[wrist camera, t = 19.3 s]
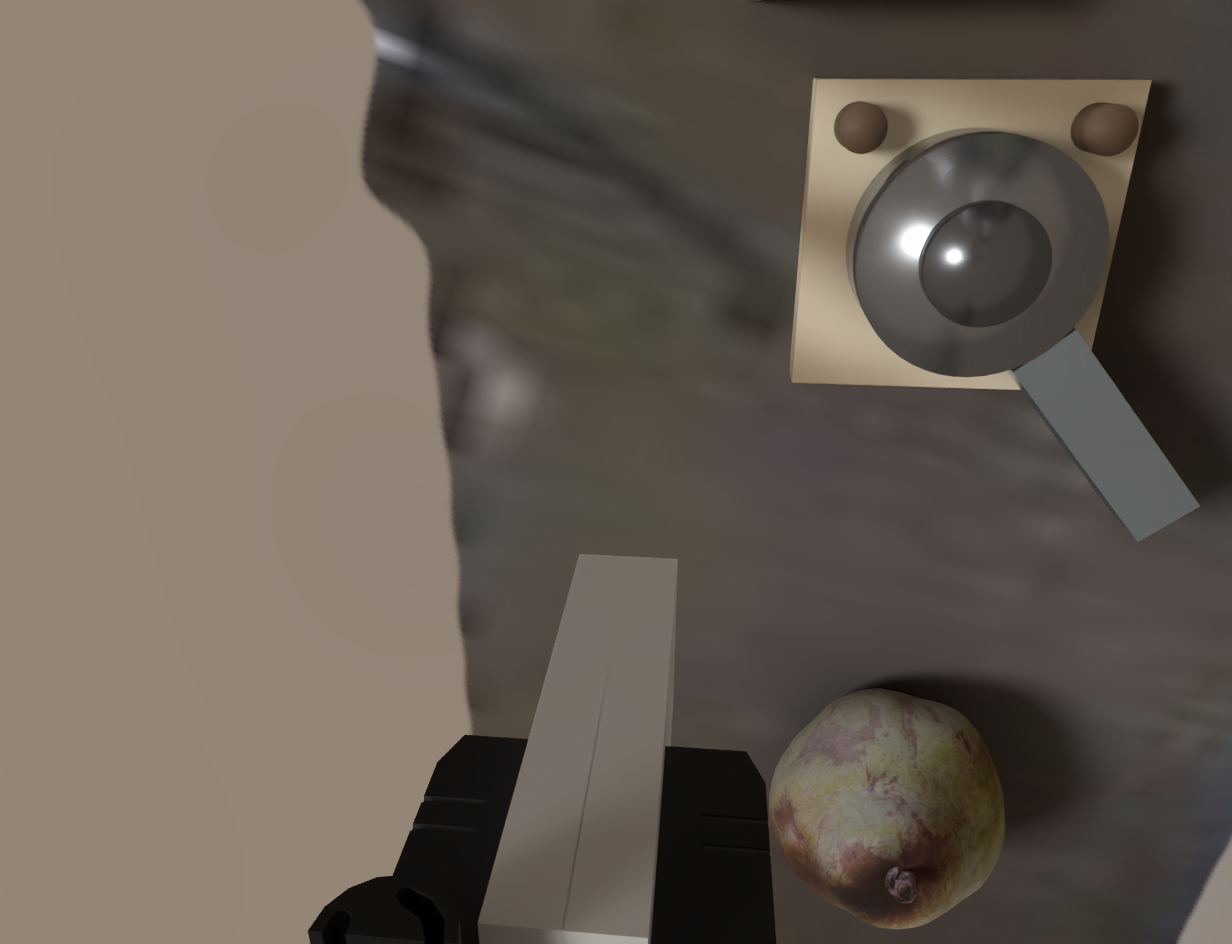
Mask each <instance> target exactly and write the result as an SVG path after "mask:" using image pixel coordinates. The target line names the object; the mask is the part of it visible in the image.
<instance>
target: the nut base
mask: <svg viewBox="0 0 1232 944" xmlns="http://www.w3.org/2000/svg"><path fill="white" fill-rule="evenodd" d="M1151 81H1152V80H1142V79H906V78H813V89H812V101H811V113H810V125H809V138H808V150H807V162H806V174H805V186H804V198H803V211H802V223H801V235H800V247H799V259H798V271H797V283H796V296H795V308H794V320H793V332H792V344H791V356H790V369H789V371H790V376H791V380H792V383H823V384H854V385H885V386H916V387H947V388H978V389H1009V390H1021V389H1020V388H1019V386H1018V385H1017V384H1016V382H1015V381H1014V380H1013V378H1012V377H1011V376H1010V374H1009V373H1008V371H1004V372H1001V373H997V374H992V375H987V376H978V377H952V376H946V375H940V374H936V373H932V372H929V371H926V370H923V369H921V368H919V367H916V366H914V365H912V364H910V363H908V362H907V361H905V360H904V359H902V358H900V357H899V356H898V355H896V354H895V353H894V352H893V351H892V350H890V349H889V348H888V347H887V346H886V345H885V344H884V342H883V341H882V340H881V339H880V338H879V337H878V335H877V334H876V332H875V331H874V329H873V328H872V326H871V325H870V323H869V321H868V320H867V318H866V316H865V314H864V313H863V311H862V309H861V307H860V306H859V304H858V302H857V300H856V298H855V296H854V294H853V291H852V288H851V285H850V282H849V279H848V273H847V267H846V243H847V235H848V231H849V227H850V222H851V219H852V217H853V214H854V211H855V209H856V206H857V204H858V202H859V200H860V198H861V197H862V195H863V193H864V191H865V190H866V188H867V187H868V185H869V184H870V183H871V181H872V180H873V179H874V177H875V176H876V175H877V174H878V173H879V172H880V171H881V169H882V168H883V167H884V166H885V165H887V164H888V163H889V162H890V161H891V160H892V159H893V158H894V157H895V156H897V155H898V154H900V153H901V152H903V151H904V150H905V149H907V148H908V147H910V146H912V145H914V144H915V143H917V142H919V141H921V140H923V139H925V138H928V137H930V136H933V135H935V134H938V133H942V132H946V131H950V130H954V129H962V128H991V129H997V130H1003V131H1006V132H1010V133H1014V134H1018V135H1022V136H1026V137H1029V138H1033V139H1036V140H1039V141H1043V142H1045V143H1047V144H1049V145H1051V146H1054V147H1056V148H1058V149H1059V150H1061V151H1062V152H1064V153H1065V154H1067V155H1068V156H1070V157H1071V158H1072V159H1073V160H1074V161H1076V162H1077V163H1078V164H1079V165H1080V166H1081V167H1082V168H1083V169H1084V170H1085V172H1086V173H1087V174H1088V176H1089V177H1090V178H1091V179H1092V181H1093V183H1094V184H1095V186H1096V188H1097V190H1098V192H1099V193H1100V196H1101V198H1102V201H1103V204H1104V207H1105V210H1106V214H1107V219H1108V224H1109V251H1108V259H1107V264H1106V268H1105V273H1104V276H1103V278H1102V281H1101V284H1100V287H1099V289H1098V291H1097V293H1096V295H1095V297H1094V299H1093V301H1092V303H1091V305H1090V306H1089V308H1088V309H1087V311H1086V312H1085V314H1084V315H1083V317H1082V318H1081V319H1080V320H1079V322H1078V323H1077V324H1076V325H1075V326H1074V328H1075V329H1076V330H1077V331H1078V333H1079V334H1080V335H1081V337H1082V338H1083V340H1084V341H1085V343H1086V344H1087V345H1088V347H1089V348H1090V350H1091V351H1092V346H1093V342H1094V337H1095V333H1096V328H1097V324H1098V319H1099V315H1100V310H1101V306H1102V301H1103V297H1104V292H1105V288H1106V283H1107V279H1108V274H1109V270H1110V265H1111V261H1112V256H1113V252H1114V247H1115V243H1116V238H1117V234H1118V230H1119V225H1120V221H1121V216H1122V212H1123V207H1124V203H1125V198H1126V194H1127V189H1128V185H1129V180H1130V176H1131V171H1132V167H1133V162H1134V158H1135V153H1136V149H1137V144H1138V140H1139V135H1140V131H1141V126H1142V122H1143V117H1144V113H1145V108H1146V104H1147V99H1148V95H1149V90H1150V86H1151Z"/></svg>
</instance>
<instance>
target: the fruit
mask: <svg viewBox="0 0 1232 944" xmlns="http://www.w3.org/2000/svg"><path fill="white" fill-rule="evenodd" d="M769 813H770V821H771V826H772V829H773V832H774V835H775V838H776V840H777V843H778V845H779V847H780V849H781V851H782V853H783V855H784V857H785V858H786V860H787V861H788V863H789V864H790V866H791V867H792V869H793V870H794V872H795V873H796V875H797V876H798V877H799V878H800V879H801V880H802V881H803V882H804V883H805V884H806V885H807V886H808V887H809V888H811V889H812V890H813V891H814V892H815V893H817V894H818V895H819V896H821V897H822V898H824V899H825V900H826V901H828V902H830V903H831V904H833V905H834V906H837V907H839V908H842V909H844V910H847V911H848V912H850V913H851V914H853V915H854V916H856V917H858V918H859V919H861V920H863V921H864V922H866V923H869V924H871V925H874V926H877V927H882V928H891V929H905V928H913V927H918V926H922V925H924V924H926V923H928V922H930V921H932V920H934V919H936V918H937V917H939V916H940V915H942V914H944V913H945V912H947V911H948V910H949V909H951V908H952V907H954V906H955V905H956V904H958V903H959V902H960V901H962V900H963V899H965V898H966V897H968V896H969V895H971V894H972V893H974V892H975V891H976V890H978V889H979V888H980V887H981V886H982V885H983V884H984V882H985V881H986V880H987V878H988V876H989V875H990V873H991V871H992V870H993V868H994V866H995V864H996V862H997V861H998V858H999V855H1000V852H1001V849H1002V845H1003V841H1004V836H1005V813H1004V799H1003V792H1002V787H1001V783H1000V781H999V778H998V775H997V772H996V770H995V767H994V764H993V762H992V759H991V757H990V754H989V752H988V749H987V747H986V745H985V743H984V741H983V740H982V738H981V736H980V734H979V733H978V731H977V730H976V729H975V727H974V726H973V725H972V724H971V722H970V721H969V720H968V719H967V718H966V717H965V716H963V715H962V714H961V713H959V712H958V711H956V710H955V709H953V708H951V707H949V706H946V705H944V704H941V703H938V702H935V701H931V700H926V699H921V698H917V697H914V696H910V695H907V694H904V693H901V692H897V691H892V690H887V689H882V688H873V689H867V690H859V691H856V692H853V693H850V694H847V695H845V696H842V697H840V698H837V699H836V700H834V701H833V702H831V703H830V704H828V705H827V706H826V707H825V708H824V709H823V710H822V711H821V712H820V713H819V715H818V716H817V717H816V718H815V719H814V720H813V721H812V722H810V723H809V724H808V725H807V726H805V727H804V728H803V729H802V730H801V731H800V732H799V733H798V734H797V735H796V737H795V738H794V739H793V741H792V742H791V743H790V745H789V747H788V748H787V750H786V751H785V753H784V754H783V756H782V757H781V759H780V761H779V763H778V765H777V767H776V769H775V772H774V775H773V779H772V783H771V789H770V799H769Z"/></svg>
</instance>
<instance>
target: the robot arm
mask: <svg viewBox="0 0 1232 944" xmlns="http://www.w3.org/2000/svg"><path fill="white" fill-rule="evenodd" d="M677 567H678V559H667V558H647V557H627V556H607V555H587V554H579V558H578V562H577V565H576V569H575V572H574V576H573V580H572V583H571V587H570V591H569V594H568V598H567V601H566V605H565V609H564V612H563V616H562V620H561V623H560V627H559V630H558V634H557V638H556V641H555V645H554V649H553V652H552V656H551V659H550V663H549V667H548V670H547V674H546V678H545V681H544V685H543V688H542V692H541V696H540V699H539V703H538V706H537V710H536V714H535V717H534V721H533V725H532V728H531V732H530V735H529V739H518V738H503V737H489V736H474V735H464V736H463V737H462V738H461V739H460V740H459V741H458V742H457V743H456V744H455V745H454V746H453V747H452V748H451V749H450V750H449V752H447V753H446V754H445V755H444V756H443V757H442V758H441V759H440V760H439V761H438V762H437V765H436V767H435V770H434V772H433V775H432V777H431V780H430V782H429V785H428V787H427V790H426V792H425V795H424V802H423V803H421V805H420V807H419V810H418V813H417V815H416V818H415V820H414V823H413V830H412V831H410V833H409V835H408V838H407V841H406V843H405V845H404V848H403V850H402V853H401V856H400V858H399V861H398V863H397V866H396V868H395V871H394V873H393V876H385V877H376V878H374V879H371V880H369V881H366V882H364V883H361V884H358V885H356V886H353V887H351V888H349V889H347V890H346V891H345V892H343V893H342V894H341V895H339V896H338V897H337V898H335V899H334V900H333V901H332V902H330V903H329V904H328V905H326V906H325V907H324V909H323V910H322V912H321V913H320V914H319V916H318V917H317V919H316V920H315V921H314V923H313V925H312V926H311V927H310V929H309V930H308V934H309V939H310V944H776V933H775V918H774V903H773V888H772V873H771V859H770V844H769V829H768V814H767V799H766V784H765V782H764V780H763V778H762V777H761V775H760V773H759V772H758V770H757V768H756V767H755V765H754V764H753V762H752V760H751V759H750V757H749V755H748V754H747V752H745V751H730V750H716V749H701V748H686V747H672V746H670V742H671V727H672V713H673V691H674V660H675V629H676V598H677Z"/></svg>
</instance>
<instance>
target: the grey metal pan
mask: <svg viewBox="0 0 1232 944" xmlns="http://www.w3.org/2000/svg"><path fill="white" fill-rule="evenodd" d="M1108 251H1109V224H1108V219H1107V214H1106V210H1105V207H1104V204H1103V201H1102V198H1101V196H1100V193H1099V192H1098V190H1097V188H1096V186H1095V184H1094V183H1093V181H1092V179H1091V178H1090V177H1089V176H1088V174H1087V173H1086V172H1085V170H1084V169H1083V168H1082V167H1081V166H1080V165H1079V164H1078V163H1077V162H1076V161H1074V160H1073V159H1072V158H1071V157H1070V156H1068V155H1067V154H1065V153H1064V152H1062V151H1061V150H1059V149H1058V148H1056V147H1054V146H1051V145H1049V144H1047V143H1045V142H1043V141H1039V140H1036V139H1033V138H1029V137H1026V136H1022V135H1018V134H1014V133H1010V132H1006V131H1003V130H997V129H991V128H962V129H954V130H950V131H946V132H942V133H938V134H935V135H933V136H930V137H928V138H925V139H923V140H921V141H919V142H917V143H915V144H914V145H912V146H910V147H908V148H907V149H905V150H904V151H903V152H901V153H900V154H898V155H897V156H895V157H894V158H893V159H892V160H891V161H890V162H889V163H888V164H887V165H885V166H884V167H883V168H882V169H881V171H880V172H879V173H878V174H877V175H876V176H875V177H874V179H873V180H872V181H871V183H870V184H869V185H868V187H867V188H866V190H865V191H864V193H863V195H862V197H861V198H860V200H859V202H858V204H857V206H856V209H855V211H854V214H853V217H852V219H851V222H850V227H849V231H848V235H847V243H846V267H847V273H848V279H849V282H850V285H851V288H852V291H853V294H854V296H855V298H856V300H857V302H858V304H859V306H860V307H861V309H862V311H863V313H864V314H865V316H866V318H867V320H868V321H869V323H870V325H871V326H872V328H873V329H874V331H875V332H876V334H877V335H878V337H879V338H880V339H881V340H882V341H883V342H884V344H885V345H886V346H887V347H888V348H889V349H890V350H892V351H893V352H894V353H895V354H896V355H898V356H899V357H900V358H902V359H904V360H905V361H907V362H908V363H910V364H912V365H914V366H916V367H919V368H921V369H923V370H926V371H929V372H932V373H936V374H940V375H946V376H952V377H978V376H987V375H992V374H997V373H1001V372H1004V371H1008V373H1009V374H1010V376H1011V377H1012V378H1013V380H1014V381H1015V382H1016V384H1017V385H1018V386H1019V388H1020V389H1021V390H1022V392H1023V393H1024V395H1025V396H1026V397H1027V399H1028V400H1029V401H1030V403H1031V404H1032V405H1033V407H1034V408H1035V409H1036V411H1037V412H1038V414H1039V415H1040V416H1041V418H1042V419H1043V420H1044V422H1045V423H1046V424H1047V426H1048V427H1049V428H1050V430H1051V431H1052V432H1053V434H1054V435H1055V437H1056V438H1057V439H1058V441H1059V442H1060V443H1061V445H1062V446H1063V447H1064V449H1065V450H1066V451H1067V453H1068V454H1069V456H1070V457H1071V458H1072V460H1073V461H1074V462H1075V464H1076V465H1077V466H1078V468H1079V469H1080V470H1081V472H1082V473H1083V475H1084V476H1085V477H1086V479H1087V480H1088V481H1089V483H1090V484H1091V485H1092V487H1093V488H1094V489H1095V491H1096V492H1097V494H1098V495H1099V496H1100V498H1101V499H1102V500H1103V502H1104V503H1105V504H1106V506H1107V507H1108V508H1109V510H1110V511H1111V512H1112V513H1113V514H1114V515H1115V517H1116V518H1117V519H1118V520H1119V521H1120V522H1121V523H1122V525H1123V526H1124V527H1125V528H1126V529H1127V530H1128V531H1129V533H1130V534H1131V535H1132V536H1133V537H1134V538H1135V540H1136V541H1137V542H1139V541H1140V540H1142V539H1144V538H1146V537H1147V536H1149V535H1151V534H1153V533H1154V532H1156V531H1158V530H1160V529H1161V528H1163V527H1165V526H1167V525H1168V524H1170V523H1172V522H1173V521H1175V520H1177V519H1179V518H1180V517H1182V516H1184V515H1186V514H1187V513H1189V512H1191V511H1193V510H1194V509H1196V508H1198V507H1200V505H1199V504H1198V502H1197V501H1196V500H1195V498H1194V497H1193V495H1192V494H1191V492H1190V491H1189V490H1188V488H1187V487H1186V485H1185V484H1184V482H1183V481H1182V480H1181V478H1180V477H1179V475H1178V474H1177V472H1176V471H1175V470H1174V468H1173V467H1172V465H1171V464H1170V462H1169V461H1168V460H1167V458H1166V457H1165V455H1164V454H1163V452H1162V451H1161V450H1160V448H1159V447H1158V445H1157V444H1156V442H1155V441H1154V440H1153V438H1152V437H1151V435H1150V434H1149V432H1148V431H1147V430H1146V428H1145V427H1144V425H1143V424H1142V422H1141V421H1140V420H1139V418H1138V417H1137V415H1136V414H1135V412H1134V411H1133V410H1132V408H1131V407H1130V405H1129V404H1128V403H1127V401H1126V400H1125V398H1124V397H1123V395H1122V394H1121V393H1120V391H1119V390H1118V388H1117V387H1116V385H1115V384H1114V383H1113V381H1112V380H1111V378H1110V377H1109V375H1108V374H1107V373H1106V371H1105V370H1104V368H1103V367H1102V365H1101V364H1100V363H1099V361H1098V360H1097V358H1096V357H1095V355H1094V354H1093V353H1092V351H1091V350H1090V348H1089V347H1088V345H1087V344H1086V343H1085V341H1084V340H1083V338H1082V337H1081V335H1080V334H1079V333H1078V331H1077V330H1076V329H1075V328H1074V326H1075V325H1076V324H1077V323H1078V322H1079V320H1080V319H1081V318H1082V317H1083V315H1084V314H1085V312H1086V311H1087V309H1088V308H1089V306H1090V305H1091V303H1092V301H1093V299H1094V297H1095V295H1096V293H1097V291H1098V289H1099V287H1100V284H1101V281H1102V278H1103V276H1104V273H1105V268H1106V264H1107V259H1108Z"/></svg>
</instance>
